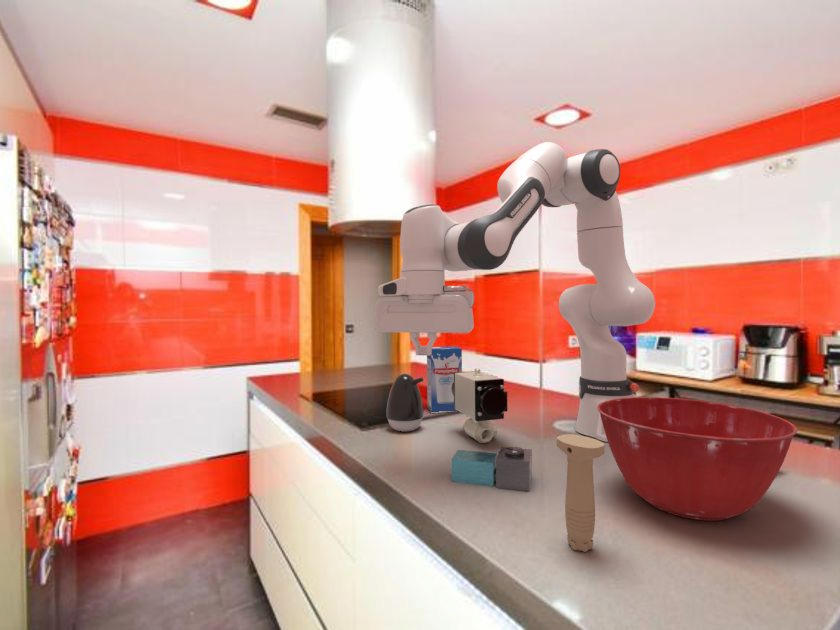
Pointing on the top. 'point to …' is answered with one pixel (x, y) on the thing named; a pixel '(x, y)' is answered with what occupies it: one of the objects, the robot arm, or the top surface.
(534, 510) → the top surface
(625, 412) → the mixing bowl
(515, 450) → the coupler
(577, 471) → the handle
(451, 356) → the milk carton
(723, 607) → the top surface
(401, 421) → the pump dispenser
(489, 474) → the teal storage bin
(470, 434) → the ball valve
